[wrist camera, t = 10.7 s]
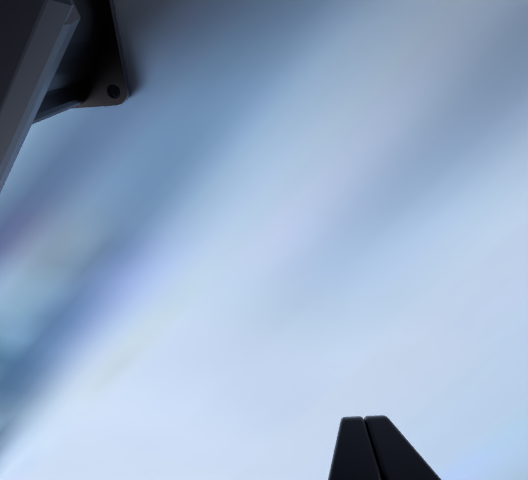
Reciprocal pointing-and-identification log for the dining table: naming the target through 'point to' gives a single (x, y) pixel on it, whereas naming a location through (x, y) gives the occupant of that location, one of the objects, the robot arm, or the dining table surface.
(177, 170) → the dining table surface
